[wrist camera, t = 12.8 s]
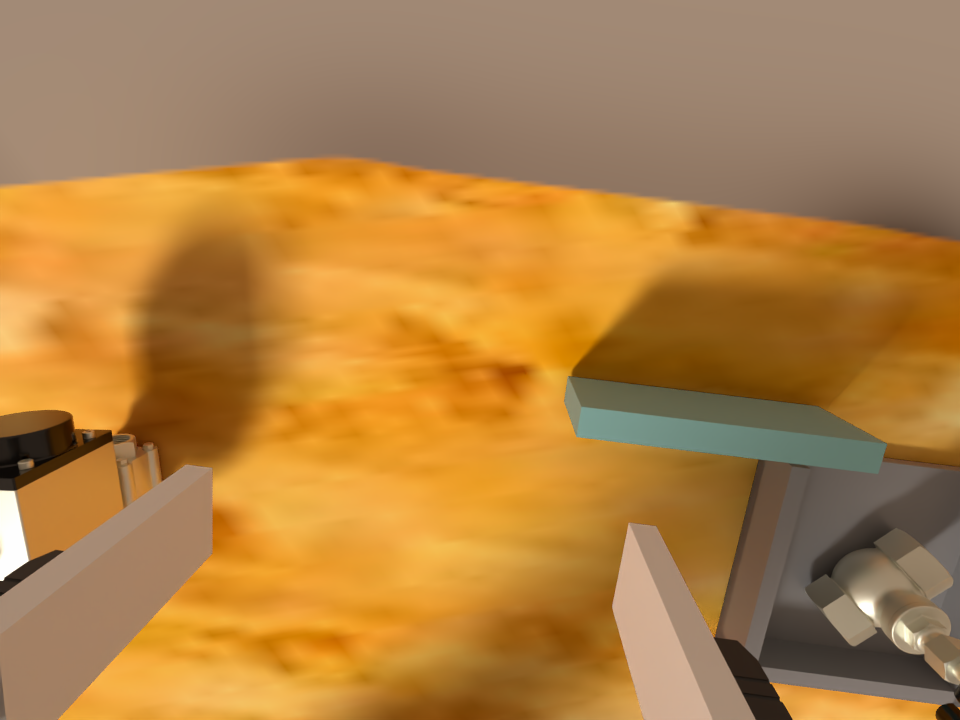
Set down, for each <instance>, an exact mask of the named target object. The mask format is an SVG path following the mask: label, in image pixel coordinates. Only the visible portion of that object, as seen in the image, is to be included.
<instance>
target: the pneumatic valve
mask: <svg viewBox="0 0 960 720" xmlns="http://www.w3.org/2000/svg"><path fill="white" fill-rule="evenodd" d="M161 482H162V476H161V468H160V461H159V454H158V447H157V446H154V445H153V443H152V442H148V443H145V444H143V447H138V446H137V442H136V436H134V435H132V434H115V435H112V431H111V430H85V429H75V427H74V421H73V416H72V414H70V413H68V412H65V411H59V410H40V411H29V412H21V413H14V414H9V415H4V416H0V581H3V580H4V577H6V576H7V575H9V574H10V573H11V572H13V571H14V570H16V569H17V568H19V567H20V566H22V565H23V564H25V563H26V562H28V561H30V560H33V559H35V558H37V557H40V556H42V555H44V554H47V553H49V552H51V551H54V550H61V551H65V550H67V549H68V548H69V547H71V546H72V545H74V544H75V543H76V542H78V541H79V540H81V539H82V538H83V537H85V536H86V535H88V534H89V533H90V532H92V531H93V530H95V529H96V528H97V527H99V526H100V525H102V524H103V523H105V522H106V521H107V520H109V519H110V518H112V517H113V516H114V515H116V514H117V513H119V512H120V511H121V510H123V509H124V508H126V507H127V506H128V505H130V504H131V503H133V502H134V501H135V500H137V499H138V498H140V497H141V496H143V495H144V494H145V493H147V492H148V491H150V490H151V489H152V488H154V487H155V486H157V485H158V484H159V483H161Z"/></svg>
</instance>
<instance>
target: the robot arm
mask: <svg viewBox="0 0 960 720" xmlns="http://www.w3.org/2000/svg"><path fill="white" fill-rule="evenodd" d="M211 554H212V468H209V467H201V466H193V465H185V466H183V467H182V468H181V469H179V470H178V471H176V472H175V473H173V474H172V475H171V476H169V477H168V478H166V479H165V480H164V481H162V482H161V483H159V484H158V485H157V486H155V487H154V488H152V489H151V490H150V491H148V492H147V493H145V494H144V495H143V496H141V497H140V498H138V499H137V500H135V501H134V502H133V503H131V504H130V505H128V506H127V507H126V508H124V509H123V510H121V511H120V512H119V513H117V514H116V515H114V516H113V517H112V518H110V519H109V520H107V521H106V522H105V523H103V524H102V525H100V526H99V527H97V528H96V529H95V530H93V531H92V532H90V533H89V534H88V535H86V536H85V537H83V538H82V539H81V540H79V541H78V542H76V543H75V544H74V545H72V546H71V547H69V548H68V549H67V550H65V551H61V550H54V551H51V552H49V553H47V554H44V555H42V556H40V557H37V558H35V559H33V560H30V561H28V562H26V563H25V564H23V565H22V566H20V567H19V568H17V569H16V570H14V571H13V572H11V573H10V574H9V575H7V576H6V577H4V580H3V581H0V720H58V719H59V718H60V716H61V715H62V714H63V713H64V712H65V711H66V710H67V709H68V708H69V707H70V706H71V705H72V704H73V703H74V701H75V700H76V699H77V698H78V697H79V696H80V695H81V694H82V693H83V692H84V691H85V690H86V689H87V687H88V686H89V685H90V684H91V683H92V682H93V681H94V680H95V679H96V678H97V677H98V676H99V675H100V673H101V672H102V671H103V670H104V669H105V668H106V667H107V666H108V665H109V664H110V663H111V662H112V661H113V660H114V658H115V657H116V656H117V655H118V654H119V653H120V652H121V651H122V650H123V649H124V648H125V647H126V646H127V644H128V643H129V642H130V641H131V640H132V639H133V638H134V637H135V636H136V635H137V634H138V633H139V632H140V631H141V629H142V628H143V627H144V626H145V625H146V624H147V623H148V622H149V621H150V620H151V619H152V618H153V617H154V615H155V614H156V613H157V612H158V611H159V610H160V609H161V608H162V607H163V606H164V605H165V604H166V603H167V602H168V600H169V599H170V598H171V597H172V596H173V595H174V594H175V593H176V592H177V591H178V590H179V589H180V588H181V586H182V585H183V584H184V583H185V582H186V581H187V580H188V579H189V578H190V577H191V576H192V575H193V574H194V572H195V571H196V570H197V569H198V568H199V567H200V566H201V565H202V564H203V563H204V562H205V561H206V560H207V559H208V557H209V556H210V555H211ZM612 609H613V613H614V616H615V620H616V623H617V627H618V630H619V634H620V637H621V641H622V644H623V648H624V651H625V655H626V659H627V662H628V666H629V669H630V673H631V676H632V680H633V683H634V687H635V690H636V694H637V698H638V701H639V705H640V708H641V712H642V715H643V719H644V720H793V719H792V718H791V716H790V714H789V713H788V711H787V709H786V708H785V706H784V704H783V702H780V699H779V698H780V697H779V696H778V694H777V692H776V691H775V689H774V687H773V686H772V684H770V683H769V679H768V677H767V675H766V674H765V672H764V670H763V669H762V667H761V665H760V664H759V662H758V660H757V659H756V658H755V657H754V656H753V655H752V654H751V653H750V652H749V651H748V650H747V649H746V648H745V647H744V646H743V645H742V644H741V643H739V642H738V641H737V640H731V639H723V638H716V637H713V636H712V634H711V632H710V630H709V628H708V626H707V624H706V622H705V620H704V618H703V616H702V614H701V612H700V610H699V608H698V606H697V605H696V603H695V601H694V599H693V597H692V595H691V593H690V591H689V589H688V587H687V585H686V583H685V581H684V579H683V577H682V575H681V573H680V571H679V569H678V568H677V566H676V564H675V562H674V560H673V558H672V556H671V554H670V552H669V550H668V548H667V546H666V544H665V542H664V540H663V538H662V536H661V534H660V533H659V531H658V529H657V527H656V526H651V525H644V524H636V523H629V525H628V530H627V535H626V540H625V545H624V550H623V555H622V560H621V565H620V570H619V575H618V580H617V585H616V590H615V595H614V600H613V605H612Z"/></svg>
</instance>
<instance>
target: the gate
mask: <svg viewBox="0 0 960 720" xmlns="http://www.w3.org/2000/svg"><path fill="white" fill-rule="evenodd" d="M564 402H565V405H566V408H567V411H568V414H569V417H570V419H571V422H572V425H573V428H574V431H575V434H576V437H581V438H589V439H597V440H606V441H614V442H622V443H630V444H638V445H646V446H654V447H662V448H671V449H679V450H687V451H695V452H703V453H711V454H719V455H727V456H736V457H744V458H752V459H760V460H768V461H776V462H784V463H793V464H801V465H809V466H817V467H825V468H833V469H841V470H849V471H858V472H866V473H874V474H878V473H879V470H880V466H881V463H882V460H883V456H884V453H885V450H886V446H887V444H886V443H885V442H883V441H881V440H879V439H877V438H875V437H874V436H872V435H870V434H868V433H866V432H864V431H863V430H861V429H859V428H857V427H855V426H853V425H852V424H850V423H848V422H846V421H844V420H842V419H840V418H839V417H837V416H835V415H833V414H831V413H829V412H828V411H826V410H824V409H822V408H820V407H818V406H811V405H803V404H795V403H786V402H778V401H770V400H761V399H753V398H745V397H736V396H728V395H720V394H712V393H703V392H695V391H687V390H678V389H670V388H662V387H653V386H645V385H637V384H629V383H620V382H612V381H604V380H595V379H587V378H579V377H570V376H568V380H567V387H566V393H565V400H564Z"/></svg>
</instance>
